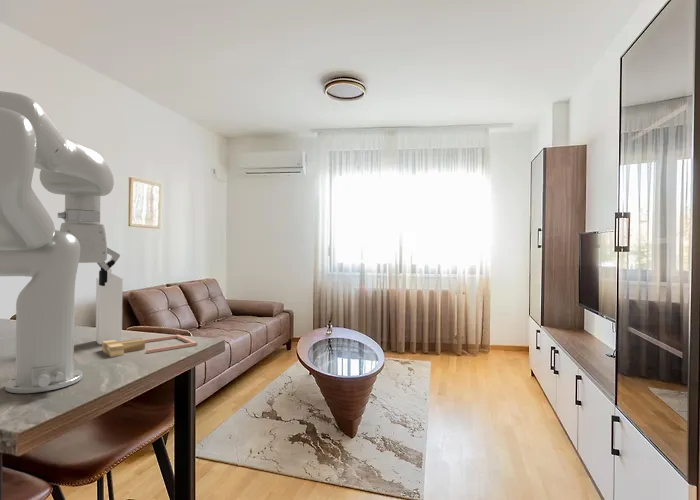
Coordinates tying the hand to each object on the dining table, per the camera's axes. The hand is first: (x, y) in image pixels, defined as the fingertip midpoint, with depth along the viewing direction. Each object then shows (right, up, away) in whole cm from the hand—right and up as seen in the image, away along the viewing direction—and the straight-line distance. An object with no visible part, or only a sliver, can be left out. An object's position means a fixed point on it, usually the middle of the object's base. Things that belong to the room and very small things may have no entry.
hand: (82, 286), depth 101 cm
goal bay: (+14, -18, +14) cm, 27 cm away
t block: (+7, -18, +7) cm, 21 cm away
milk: (-4, -18, +17) cm, 26 cm away
